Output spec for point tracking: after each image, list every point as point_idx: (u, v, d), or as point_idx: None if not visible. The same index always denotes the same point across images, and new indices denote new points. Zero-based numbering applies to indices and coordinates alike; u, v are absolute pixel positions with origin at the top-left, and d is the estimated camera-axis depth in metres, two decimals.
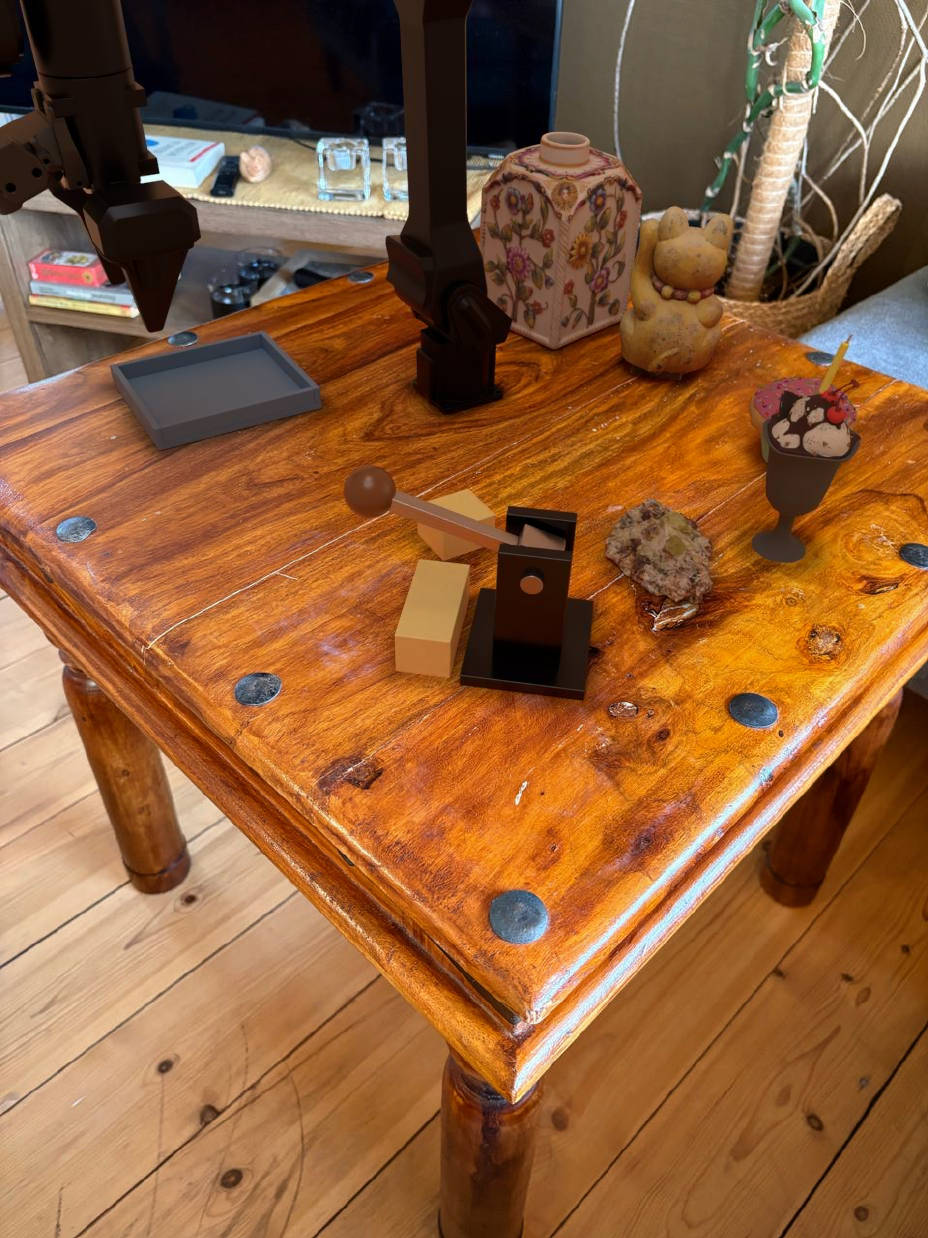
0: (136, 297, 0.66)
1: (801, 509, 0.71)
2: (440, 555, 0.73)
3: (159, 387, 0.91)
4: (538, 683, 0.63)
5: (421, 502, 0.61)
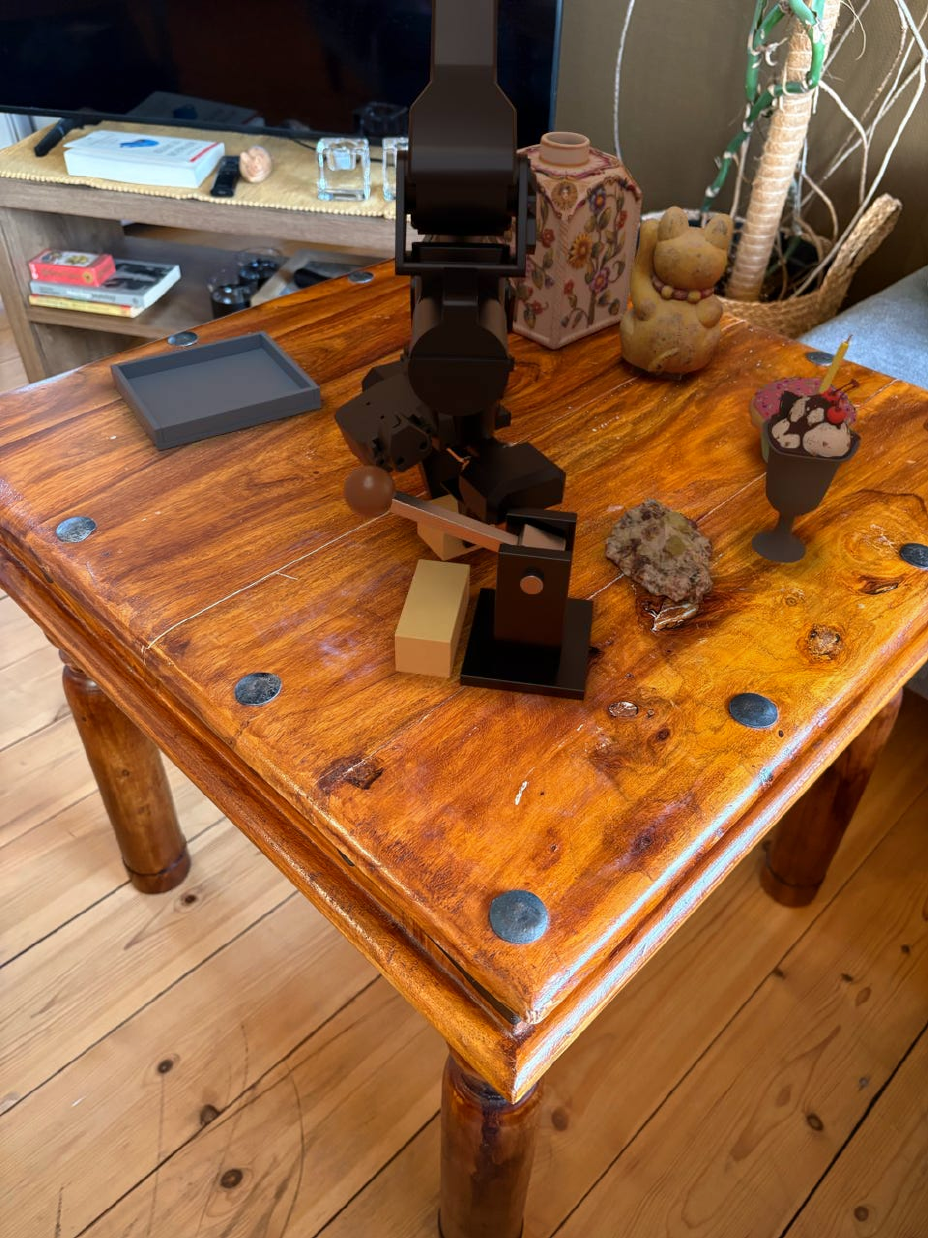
0: None
1: (801, 509, 0.71)
2: (440, 555, 0.73)
3: (159, 387, 0.91)
4: (538, 683, 0.63)
5: (421, 502, 0.61)
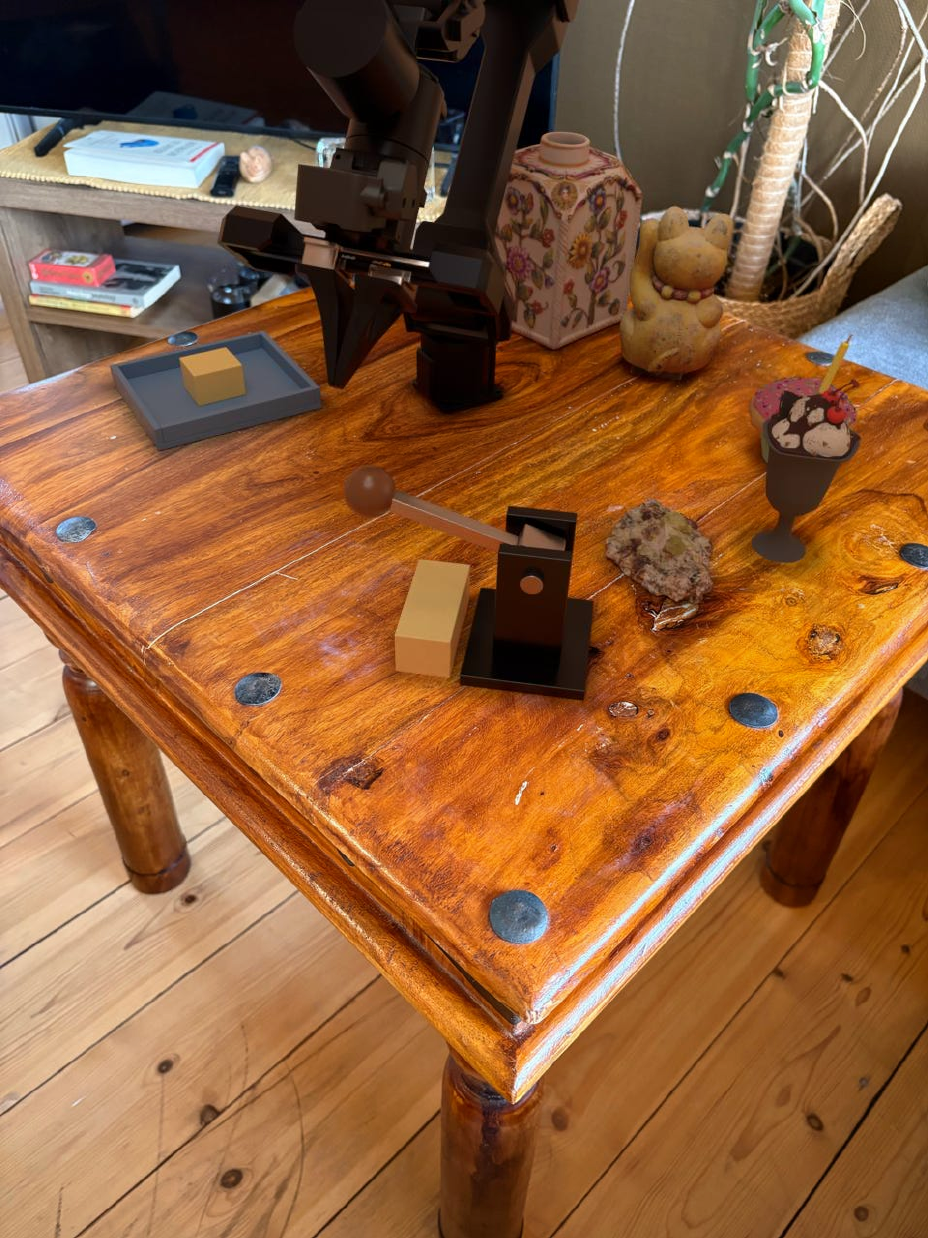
0: (358, 342, 0.66)
1: (801, 509, 0.71)
2: (196, 398, 0.89)
3: (159, 387, 0.91)
4: (538, 683, 0.63)
5: (421, 502, 0.61)
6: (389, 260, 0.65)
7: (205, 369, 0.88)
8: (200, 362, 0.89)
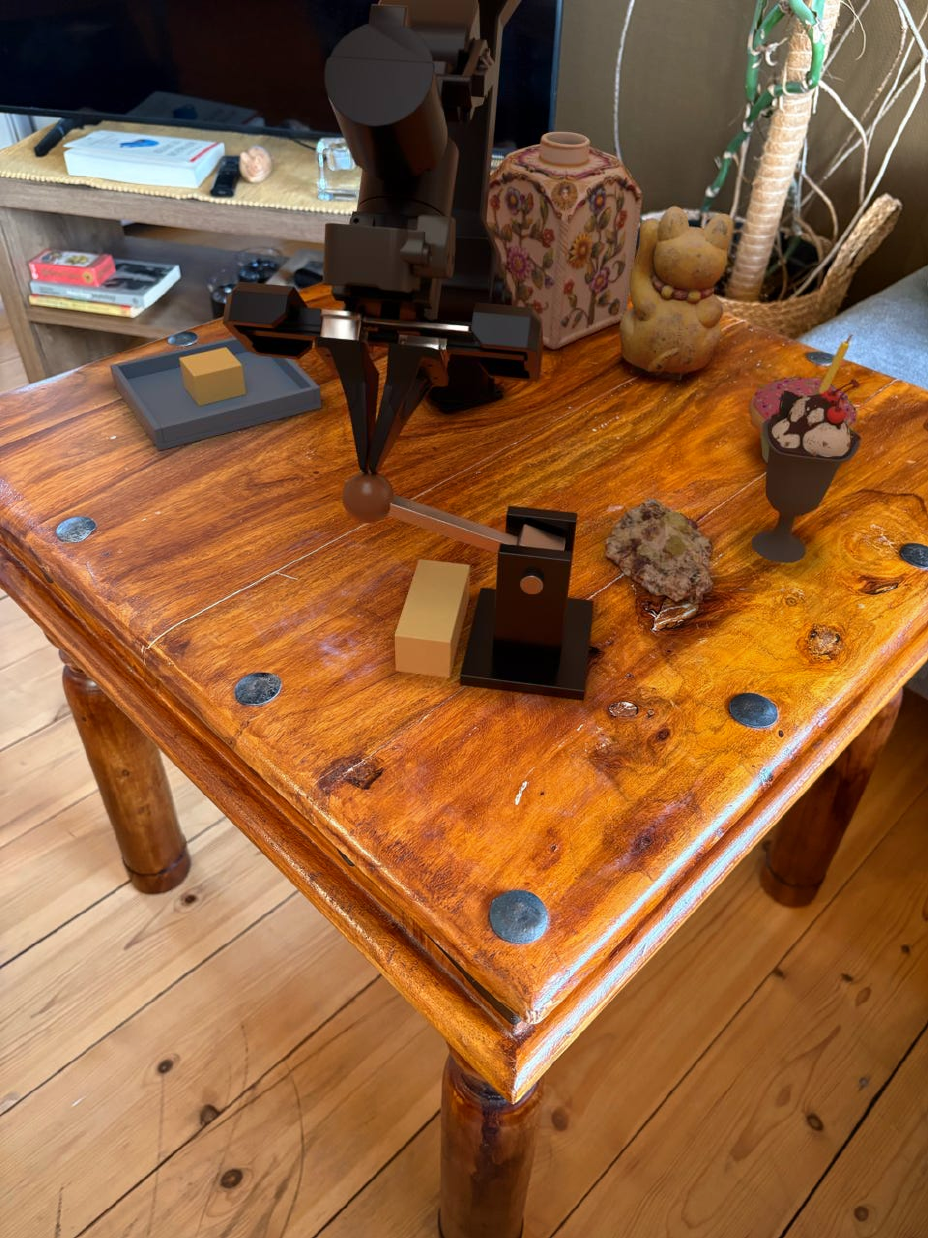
0: (394, 419, 0.58)
1: (801, 509, 0.71)
2: (196, 398, 0.89)
3: (159, 387, 0.91)
4: (538, 683, 0.63)
5: (419, 506, 0.61)
6: (420, 327, 0.58)
7: (205, 369, 0.88)
8: (200, 362, 0.89)
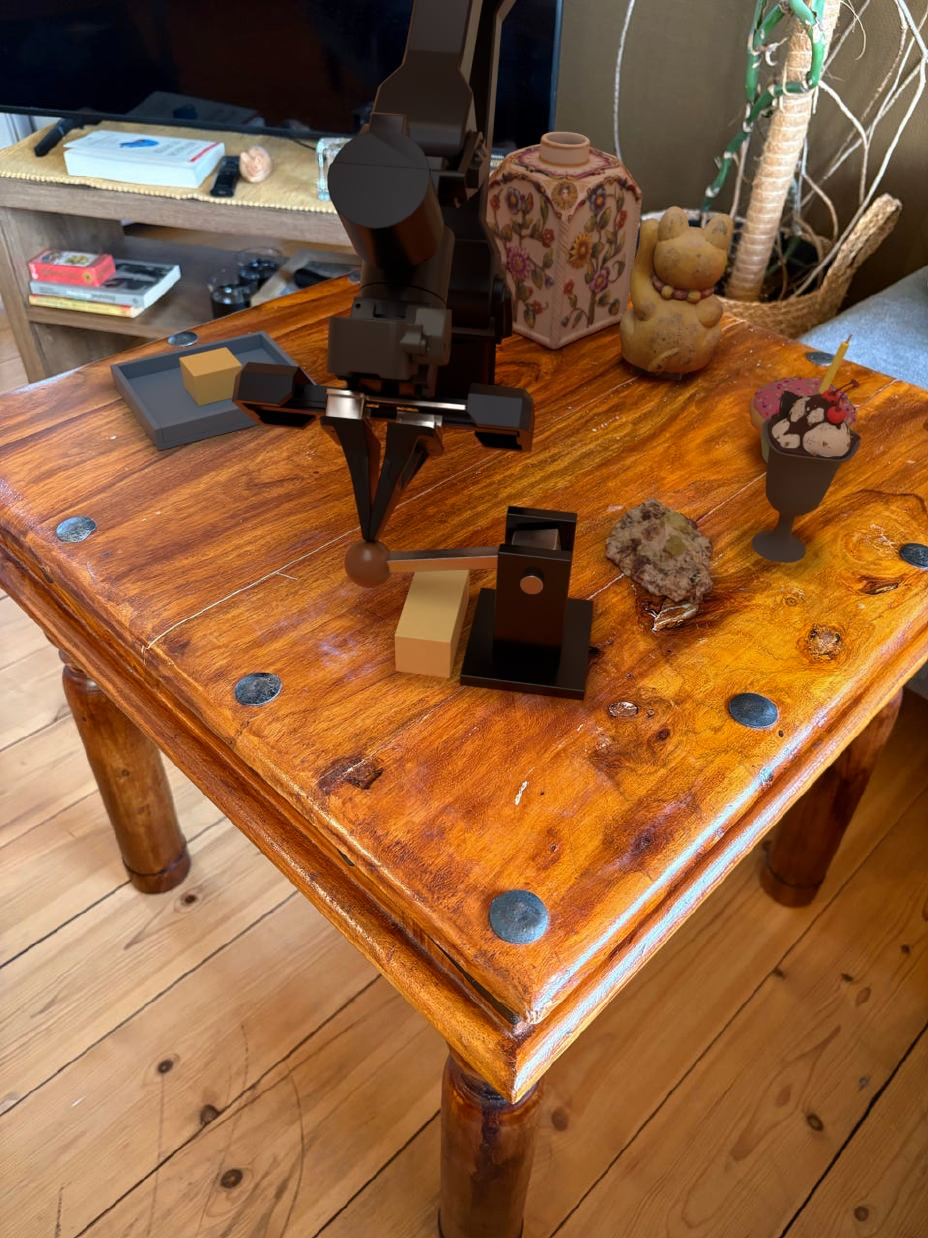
0: (392, 492, 0.62)
1: (801, 509, 0.71)
2: (196, 398, 0.89)
3: (159, 387, 0.91)
4: (538, 683, 0.63)
5: (414, 553, 0.63)
6: (419, 406, 0.62)
7: (205, 369, 0.88)
8: (200, 362, 0.89)
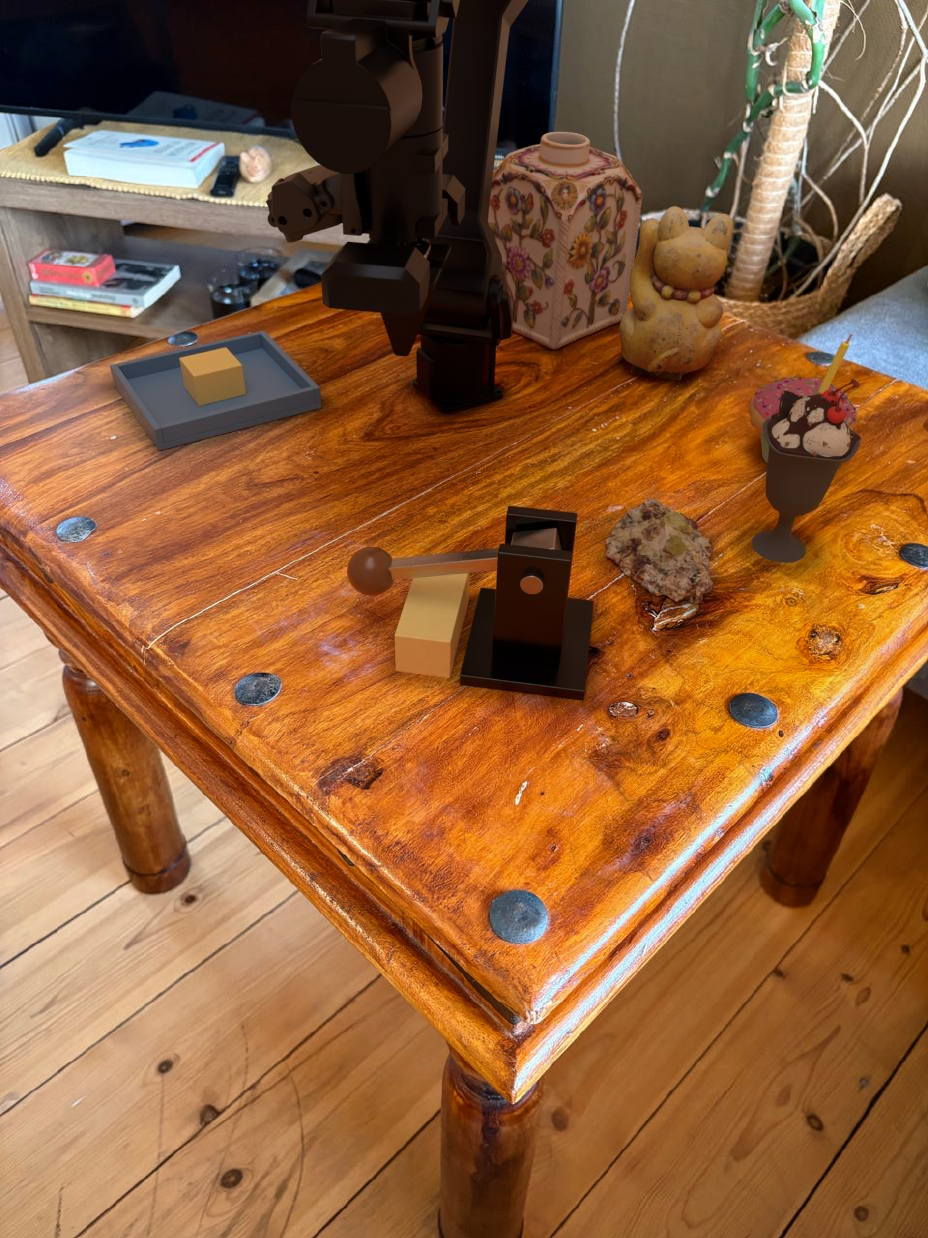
0: (383, 320, 0.70)
1: (801, 509, 0.71)
2: (196, 398, 0.89)
3: (159, 387, 0.91)
4: (538, 683, 0.63)
5: (415, 558, 0.64)
6: None
7: (205, 369, 0.88)
8: (200, 362, 0.89)
